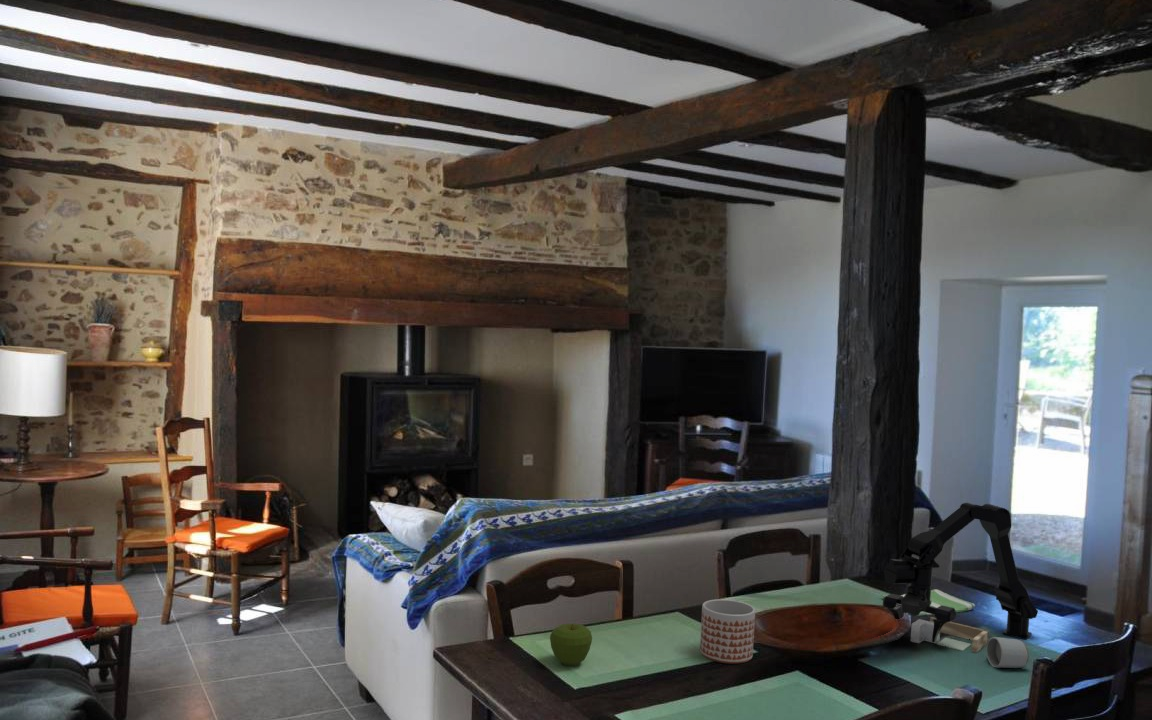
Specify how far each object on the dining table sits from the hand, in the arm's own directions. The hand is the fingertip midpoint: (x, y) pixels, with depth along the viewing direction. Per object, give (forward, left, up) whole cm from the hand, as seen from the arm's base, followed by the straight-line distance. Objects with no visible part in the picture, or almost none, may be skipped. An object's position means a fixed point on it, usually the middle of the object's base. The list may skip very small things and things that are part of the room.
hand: (916, 637), depth 256 cm
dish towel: (-38, -10, -2) cm, 39 cm away
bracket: (-2, +2, -1) cm, 3 cm away
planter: (+50, -32, -1) cm, 59 cm away
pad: (-5, +9, -1) cm, 10 cm away
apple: (+85, -56, -1) cm, 102 cm away
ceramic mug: (+1, +23, -1) cm, 23 cm away
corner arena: (-9, +7, -1) cm, 11 cm away
